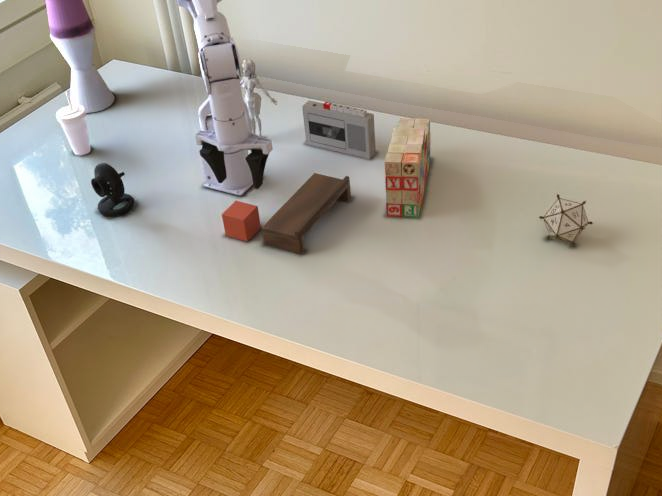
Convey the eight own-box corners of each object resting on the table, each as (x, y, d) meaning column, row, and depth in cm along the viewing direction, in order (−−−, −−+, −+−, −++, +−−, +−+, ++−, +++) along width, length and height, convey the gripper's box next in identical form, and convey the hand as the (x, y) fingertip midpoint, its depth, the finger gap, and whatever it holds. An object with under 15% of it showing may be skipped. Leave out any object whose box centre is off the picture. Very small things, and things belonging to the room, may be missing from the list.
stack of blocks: (400, 157, 183) (399, 103, 175) (430, 158, 182) (431, 104, 173) (386, 216, 168) (384, 160, 160) (418, 218, 167) (418, 161, 158)
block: (225, 235, 168) (221, 214, 165) (239, 221, 171) (235, 200, 168) (247, 241, 166) (243, 220, 163) (261, 227, 169) (257, 205, 166)
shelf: (264, 244, 165) (260, 222, 162) (316, 189, 177) (313, 168, 174) (300, 254, 162) (298, 232, 158) (351, 198, 174) (349, 176, 170)
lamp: (63, 113, 210) (9, -62, 182) (79, 91, 218) (29, -80, 190) (105, 113, 208) (57, -64, 181) (120, 92, 216) (76, -81, 188)
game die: (561, 261, 160) (553, 244, 151) (535, 226, 163) (526, 207, 154) (604, 232, 158) (598, 213, 149) (577, 197, 161) (570, 176, 152)
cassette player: (306, 144, 190) (301, 101, 183) (312, 138, 192) (308, 95, 185) (369, 158, 184) (367, 115, 177) (375, 152, 185) (373, 109, 178)
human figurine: (231, 137, 195) (218, 60, 183) (240, 129, 197) (228, 52, 185) (276, 148, 190) (266, 69, 178) (285, 140, 192) (276, 61, 180)
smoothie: (102, 147, 197) (85, 89, 187) (83, 161, 193) (64, 102, 183) (82, 141, 200) (64, 83, 190) (62, 154, 196) (43, 96, 186)
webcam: (90, 209, 179) (77, 166, 172) (119, 192, 182) (107, 150, 175) (113, 222, 175) (101, 179, 168) (142, 205, 178) (131, 162, 171)
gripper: (181, 119, 151) (195, 188, 160) (254, 129, 146) (265, 199, 155) (201, 102, 156) (214, 170, 165) (273, 110, 151) (283, 180, 160)
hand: (240, 183), depth 160 cm, fingers open, 7 cm apart
